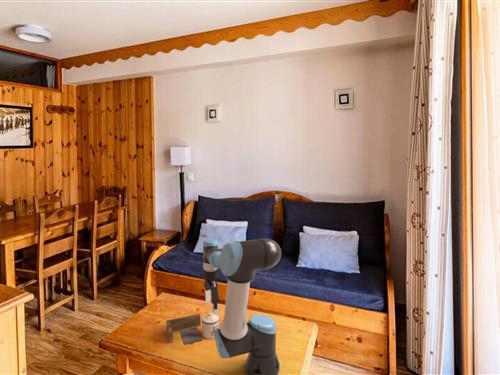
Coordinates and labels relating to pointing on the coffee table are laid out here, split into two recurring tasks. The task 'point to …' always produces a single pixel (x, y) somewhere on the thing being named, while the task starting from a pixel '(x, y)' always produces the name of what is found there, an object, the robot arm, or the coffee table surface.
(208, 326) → the teacup with lid
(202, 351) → the coffee table surface
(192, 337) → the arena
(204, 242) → the robot arm
